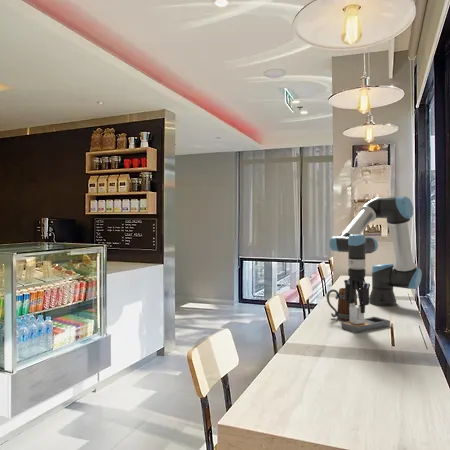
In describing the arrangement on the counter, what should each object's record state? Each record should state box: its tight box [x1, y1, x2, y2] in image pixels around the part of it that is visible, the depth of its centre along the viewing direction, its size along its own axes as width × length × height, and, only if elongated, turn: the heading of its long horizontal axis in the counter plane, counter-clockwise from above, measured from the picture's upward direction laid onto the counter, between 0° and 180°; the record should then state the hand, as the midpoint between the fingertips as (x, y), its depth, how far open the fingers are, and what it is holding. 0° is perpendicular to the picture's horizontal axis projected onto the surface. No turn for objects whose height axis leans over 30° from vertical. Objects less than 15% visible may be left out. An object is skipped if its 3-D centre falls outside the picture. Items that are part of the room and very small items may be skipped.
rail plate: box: [341, 316, 391, 334], centre depth 188 cm, size 22×9×3 cm, turn 119°
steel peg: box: [349, 304, 364, 326], centre depth 185 cm, size 4×4×9 cm
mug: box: [326, 287, 358, 322], centre depth 203 cm, size 16×11×15 cm
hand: (356, 318), depth 185 cm, fingers closed on steel peg, 4 cm apart
